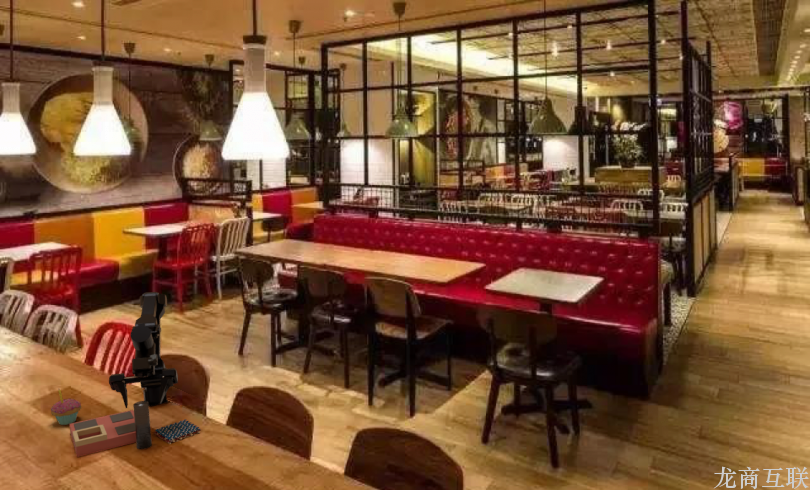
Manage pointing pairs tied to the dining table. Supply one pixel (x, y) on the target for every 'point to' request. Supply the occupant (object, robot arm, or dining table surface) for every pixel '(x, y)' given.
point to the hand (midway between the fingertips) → (143, 405)
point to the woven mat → (177, 431)
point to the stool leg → (142, 424)
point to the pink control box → (103, 433)
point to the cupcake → (66, 410)
